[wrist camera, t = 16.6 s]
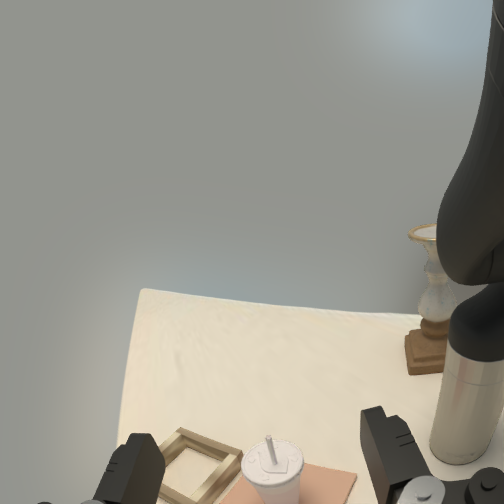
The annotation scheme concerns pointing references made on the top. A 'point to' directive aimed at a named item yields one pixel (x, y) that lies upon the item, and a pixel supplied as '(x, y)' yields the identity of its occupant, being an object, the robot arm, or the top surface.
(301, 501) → the tile
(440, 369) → the candle holder
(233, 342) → the top surface
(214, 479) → the square wooden tray
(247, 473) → the smoothie
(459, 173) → the robot arm
